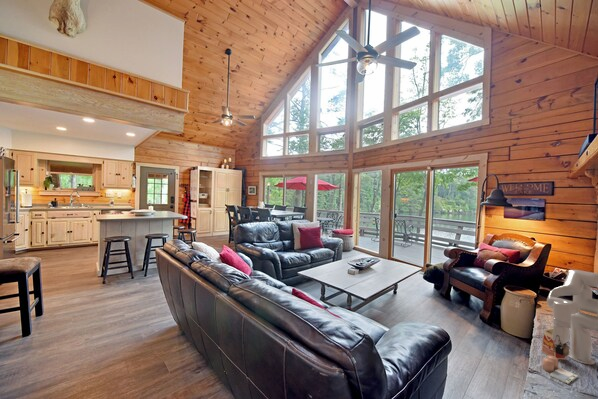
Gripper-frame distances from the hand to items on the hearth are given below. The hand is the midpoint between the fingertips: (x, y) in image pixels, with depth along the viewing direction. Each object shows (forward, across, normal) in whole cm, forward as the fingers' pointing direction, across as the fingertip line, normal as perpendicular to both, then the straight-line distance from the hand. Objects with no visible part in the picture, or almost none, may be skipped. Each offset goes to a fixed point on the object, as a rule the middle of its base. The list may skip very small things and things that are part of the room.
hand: (561, 352), depth 152 cm
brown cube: (0, 0, 0) cm, 0 cm away
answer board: (+15, -4, 0) cm, 16 cm away
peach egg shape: (+15, -10, -7) cm, 19 cm away
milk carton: (+16, -26, -12) cm, 33 cm away
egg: (+16, -3, -7) cm, 17 cm away
